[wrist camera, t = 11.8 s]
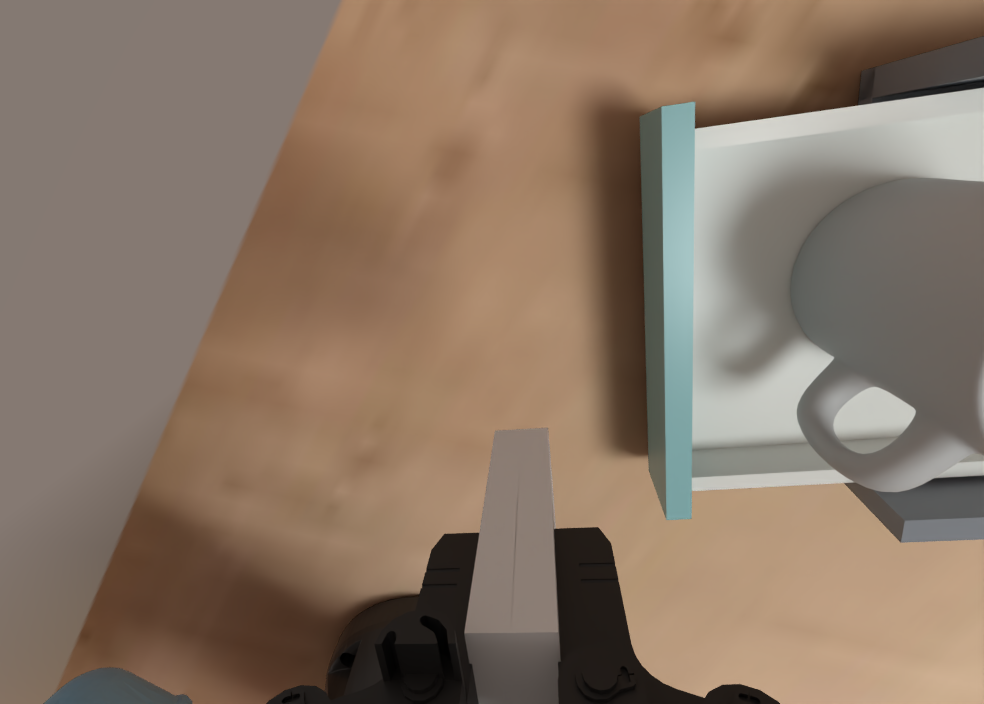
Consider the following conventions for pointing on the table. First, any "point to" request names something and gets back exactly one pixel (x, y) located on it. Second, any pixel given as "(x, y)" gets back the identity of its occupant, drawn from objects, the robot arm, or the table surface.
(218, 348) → the table surface
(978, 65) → the dock
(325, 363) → the table surface
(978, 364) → the mug
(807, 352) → the tray
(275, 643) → the table surface
